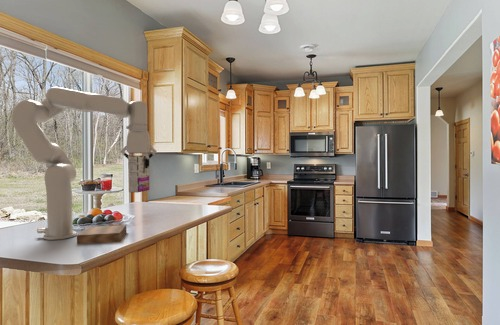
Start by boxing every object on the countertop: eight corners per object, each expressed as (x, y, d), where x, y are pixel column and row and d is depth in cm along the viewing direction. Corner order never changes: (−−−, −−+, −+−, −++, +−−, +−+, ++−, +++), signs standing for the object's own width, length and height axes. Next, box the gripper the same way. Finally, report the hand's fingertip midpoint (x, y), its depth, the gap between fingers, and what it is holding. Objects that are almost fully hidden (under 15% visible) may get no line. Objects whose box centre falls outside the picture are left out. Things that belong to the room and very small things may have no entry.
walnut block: (77, 245, 132) (76, 235, 132) (88, 235, 147) (88, 226, 147) (119, 242, 135) (119, 232, 135) (126, 233, 150) (126, 224, 150)
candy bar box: (139, 189, 158) (139, 155, 158) (149, 190, 157) (149, 155, 157) (127, 192, 147) (127, 155, 147) (138, 192, 146) (138, 155, 146)
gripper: (116, 127, 146) (117, 168, 147) (157, 128, 150) (157, 168, 150) (120, 129, 154) (120, 168, 154) (158, 129, 157) (159, 167, 157)
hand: (138, 167), depth 152 cm, fingers closed on candy bar box, 6 cm apart
